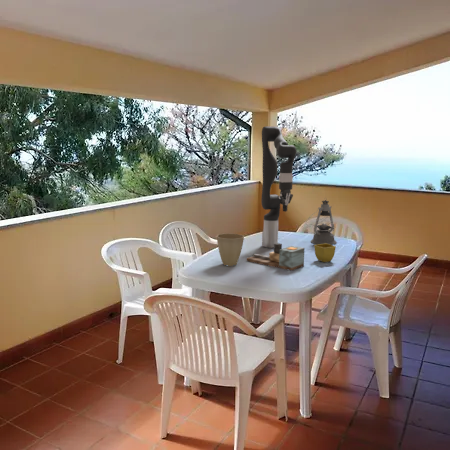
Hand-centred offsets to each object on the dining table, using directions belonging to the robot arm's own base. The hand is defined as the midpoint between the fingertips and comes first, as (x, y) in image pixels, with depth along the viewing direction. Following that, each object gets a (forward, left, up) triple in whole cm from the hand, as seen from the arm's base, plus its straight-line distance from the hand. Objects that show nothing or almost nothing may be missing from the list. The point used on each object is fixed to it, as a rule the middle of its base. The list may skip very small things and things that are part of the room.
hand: (284, 211), depth 264 cm
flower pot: (+22, +8, -27) cm, 36 cm away
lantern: (-4, +52, -27) cm, 59 cm away
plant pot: (-13, -33, -27) cm, 45 cm away
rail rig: (+4, -15, -27) cm, 31 cm away
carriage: (+6, -15, -25) cm, 30 cm away
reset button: (+15, -15, -20) cm, 29 cm away
